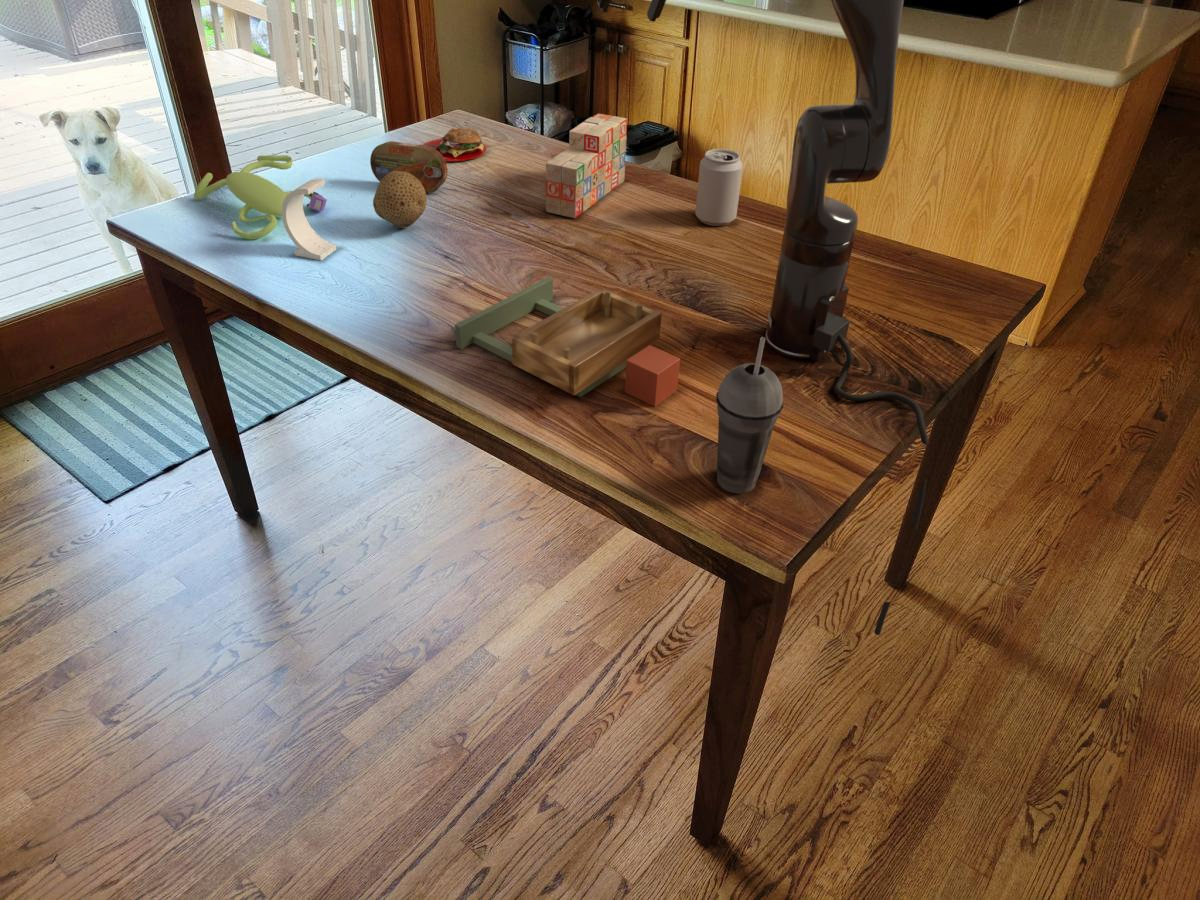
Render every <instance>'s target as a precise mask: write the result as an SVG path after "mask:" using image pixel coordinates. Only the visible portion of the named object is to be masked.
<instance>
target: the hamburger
mask: <svg viewBox="0 0 1200 900" xmlns="http://www.w3.org/2000/svg"><path fill="white" fill-rule="evenodd" d="M422 145H426V146H430V147H433V148H435V149H436V150H438V151H439V152H440V153H441V155H442V156H443V157H444V159H445V161H446V162H461V161H467V160H468V161H469V160H473V159H477V158H478V157H481V156H482V155H484V154H485V153H486V152H487V146H486V145H485V144H484V142H482V137H481V136H480V134H479V133H478V131H476V130H473V129H471V128H466V127H465V128H464V127H463V128H462V127H461V128H454V127H453V128H451V129H449V130H448V131H447V132H446V133H445V134H444V136H442V137H440V138H437V139H432V140H429V141H426V142H425V143H423V144H422Z"/></svg>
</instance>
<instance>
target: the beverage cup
mask: <svg viewBox="0 0 1200 900" xmlns="http://www.w3.org/2000/svg"><path fill="white" fill-rule="evenodd" d="M765 343H766V340H765V337H764V336H761V337H760V339H759V343H758V348H757V353H756V358H755V363H753V362H751V363H743V364H740V365H738V366H736V367H734V368H732V369H731V370H729V372H727V374H725V377H724V378H723V379H722V381H721V383H720V385H719V387H718V390H717V392H716V395H715V396H716V397H715V401H716V409H717V416H718V431H717V454H716V455H717V456H716V482H717V484H718V485H719V487H721V489H723V490H725V491H726V492H729V493H731V494H746V493H747V494H748V492H751V491H753V490H754V488H755V487H756V483H757V481H758V479H759V476H760V473H761V470H762V467H763V463H764V460H765V457H766V454H767V450H768V447H769V444H770V440H771V437H772V434H773V431H774V427H775V424H776V423H777V421H778V419H779V416H780V414H781V413H782V410H783V408H784V395H783V386H782V383H781V381H780V380H779V378H778V376H777V375H776V374H775V373H774V372H773V370H771V369H770V368H769V367H767V366H765V365H763V364H761V361H762V357H763V352H764V348H765Z"/></svg>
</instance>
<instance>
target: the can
mask: <svg viewBox="0 0 1200 900" xmlns="http://www.w3.org/2000/svg"><path fill="white" fill-rule="evenodd" d="M743 169H744V164H743V162H742V161H741V155H740V153H738V152H736V151H735V150H731V149H726V148H713V149H709V150H707V151H705V153H704V157H703V158H702V159H701V160H700V162H699V171H698V182H697V191H696V200H695V211H694V213H695V216H696V217H697V218H698V220H699V221H700V222H701V223H703V224H705V225H708V226H714V227H716V226H717V227H721V226H722V227H723V226H726V225H729V224H730V223H732V222H733V221H734V220H735V219H736V218H737V215H738V207H739V199H740V191H741V185H742V183H741V182H742V177H743Z"/></svg>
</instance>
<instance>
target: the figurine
mask: <svg viewBox="0 0 1200 900" xmlns="http://www.w3.org/2000/svg"><path fill="white" fill-rule="evenodd" d="M256 160H257V161H254V162H251V163H249V164H247V165H245V166H243V168H241V170H240V171H233V172H231V173H229V174H227V176H226V178H222V179H220V180H217V181H216V182H214V183H212V184H209V183H210V182H211V181H212V179H213V178H214V175H213V173H211V172H207V173H206V174H204V176H203V177H202V179H201V181H199V183H198V185H197V186H196V188H195V190H194V195H193V198H194V199H195V200H196V201H197V200H198V201H199V200H203V199H205V198H207V196H209V195H210V194H212V193H214V192H216V191H217V190H220V189H221V188H224V187H227V188H228V190H229V192H230V193H232V194H233V195H234V196H235V197H236V198H237V199H238V200H239V201H240V202H242V203H244V204H245V205H244V206H242V208H240V210H239V212H238V214H237V215H238V220H239V221H240V222H242V223H252V222H255V221H256V222H257V221H261V220H265V219H266V220H267V221H269V222H268V223H267V225H265V226H264V227H263V228H262V229H261V228H260V229H258V230H256V231H252V232H247V231H243V230H242V229H239V227H238V224H237V223H236V221H232V222H231V227H232V230H233V232H234V233H235V234H236V235H237V236H239V237H240V238H242V239H245V240H252V241H253V240H256V239H257V240H258V239H260V238H263V237H265V236H267V235H270V233H271V232H273V230H274V229H275V228H276V227H277V226H278V219H277V217H282V204H283V201H284V199H285V197H286V196H287V195H288V194H289V193H290V192H292V191H293V190H289V191H288V190H287V191H284V190H283V189H282V188H281V187H279V186H278V185H276V184H275V183H273V182H272V181H271V180H268V179H266V178H264V177H262V176H260V175H258V174H254V173H250V172H252V171H253V170H257V169H261V168H274V169H277V170H282V171H283V170H284V171H285V170H289V169H291V168H292V165H293V159H292V157H291V156H290V155H285V154H280V155H279V154H269V155H264V154H263V155H262V154H261V155H258V156H257V157H256ZM304 197H306V198H308V199H309V200H310V201H309V203H307V204H306V207H307V208H309V209H311V210H314V211H316V212H319V213H321V212H322V211H324V210H325V208H326V204H327V201H328V199H327V198H325V197H324V196H323V195H322V194H319V193H318V192H316V191H313V192H312V193H310V194H304ZM251 210H254V211H257V212H259V213H262V214H265V215H263V216H262V215H261V216H258V217H255V218H247V217H246V216H247V213H248V212H250V211H251Z"/></svg>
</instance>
